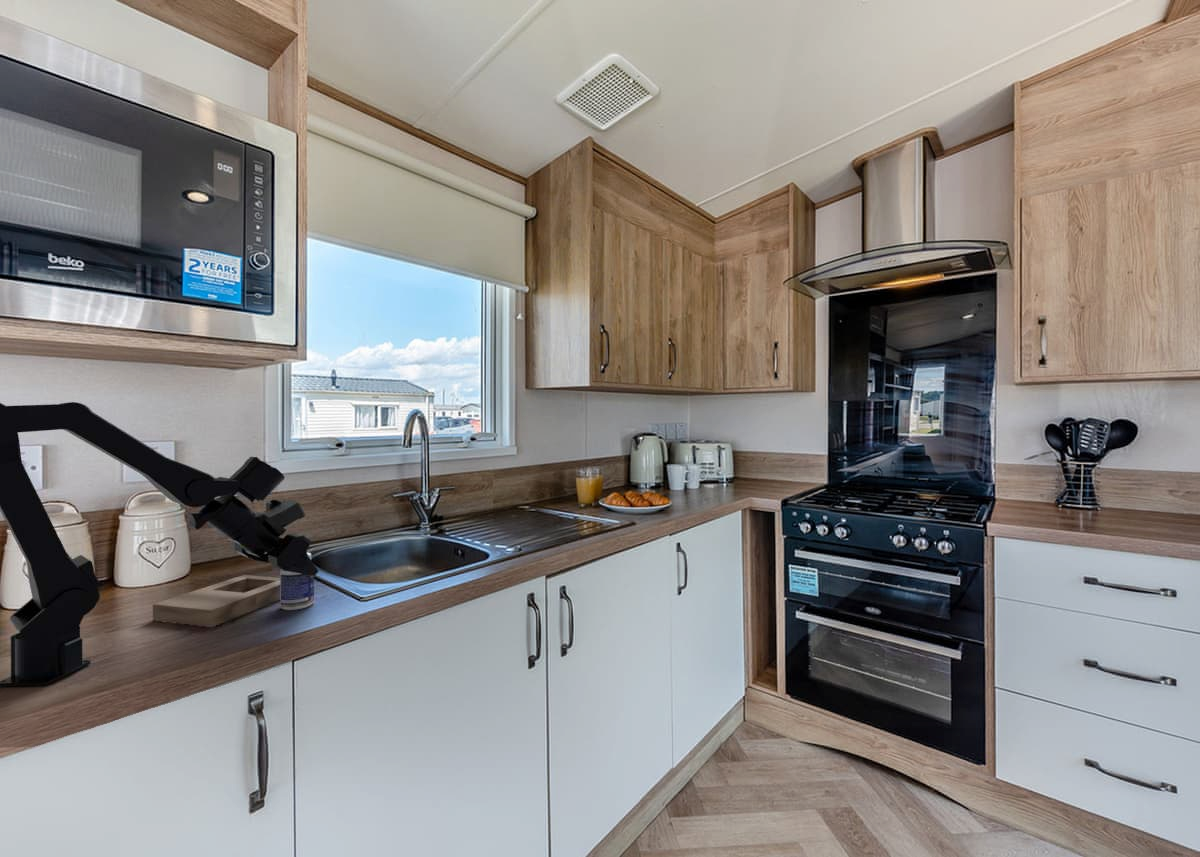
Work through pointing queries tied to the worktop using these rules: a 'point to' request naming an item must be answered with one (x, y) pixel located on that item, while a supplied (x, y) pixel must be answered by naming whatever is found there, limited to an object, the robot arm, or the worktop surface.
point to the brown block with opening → (219, 601)
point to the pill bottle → (296, 590)
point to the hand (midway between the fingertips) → (304, 569)
